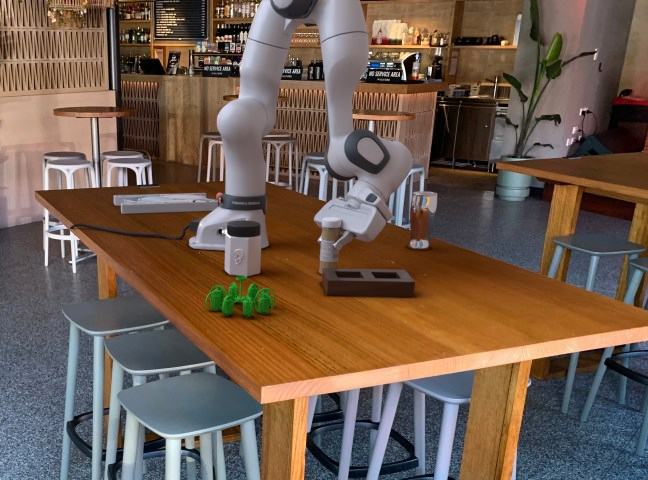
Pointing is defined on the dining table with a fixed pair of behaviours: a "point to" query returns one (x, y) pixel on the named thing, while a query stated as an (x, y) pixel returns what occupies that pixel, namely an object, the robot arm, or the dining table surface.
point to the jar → (243, 248)
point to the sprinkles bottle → (329, 243)
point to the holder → (367, 282)
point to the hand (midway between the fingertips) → (327, 245)
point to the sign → (165, 203)
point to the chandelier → (240, 299)
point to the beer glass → (422, 219)
